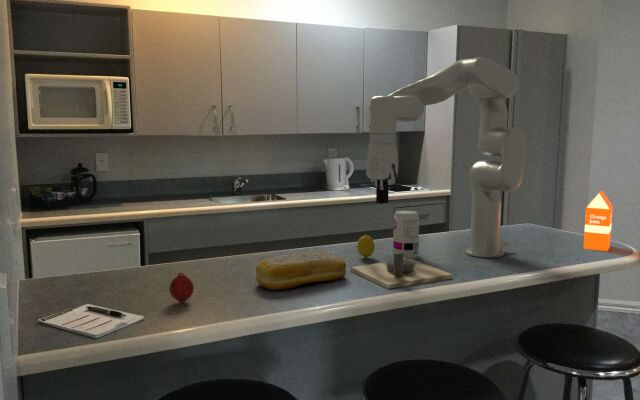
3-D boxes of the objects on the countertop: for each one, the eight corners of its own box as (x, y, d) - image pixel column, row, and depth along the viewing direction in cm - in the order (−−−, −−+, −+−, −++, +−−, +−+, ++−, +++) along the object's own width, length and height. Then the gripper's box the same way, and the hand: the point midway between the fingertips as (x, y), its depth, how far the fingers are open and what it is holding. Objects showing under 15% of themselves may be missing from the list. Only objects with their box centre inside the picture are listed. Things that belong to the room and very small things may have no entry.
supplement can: (390, 258, 182) (391, 213, 180) (396, 252, 190) (397, 209, 188) (415, 260, 179) (416, 214, 177) (420, 254, 187) (421, 210, 185)
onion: (172, 299, 142) (171, 268, 140) (195, 298, 142) (194, 268, 141) (168, 307, 136) (166, 275, 135) (192, 306, 136) (191, 274, 135)
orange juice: (610, 246, 199) (614, 190, 196) (607, 251, 191) (611, 193, 188) (586, 243, 203) (589, 189, 200) (582, 248, 196) (586, 192, 193)
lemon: (373, 261, 179) (373, 236, 178) (356, 260, 180) (356, 236, 179) (375, 256, 184) (375, 233, 183) (358, 256, 186) (358, 232, 184)
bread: (248, 284, 155) (247, 256, 154) (325, 269, 170) (325, 244, 169) (272, 297, 144) (271, 267, 143) (352, 279, 159) (352, 252, 158)
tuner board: (410, 262, 177) (410, 258, 177) (452, 278, 159) (452, 273, 159) (350, 270, 167) (350, 266, 167) (387, 288, 150) (387, 284, 149)
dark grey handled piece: (390, 259, 174) (390, 239, 173) (416, 260, 172) (416, 240, 171) (383, 275, 156) (383, 253, 155) (412, 277, 154) (412, 255, 153)
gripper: (357, 139, 164) (357, 200, 167) (387, 140, 151) (386, 207, 154) (378, 138, 168) (378, 198, 170) (409, 140, 155) (408, 205, 157)
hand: (382, 202), depth 162 cm, fingers closed
